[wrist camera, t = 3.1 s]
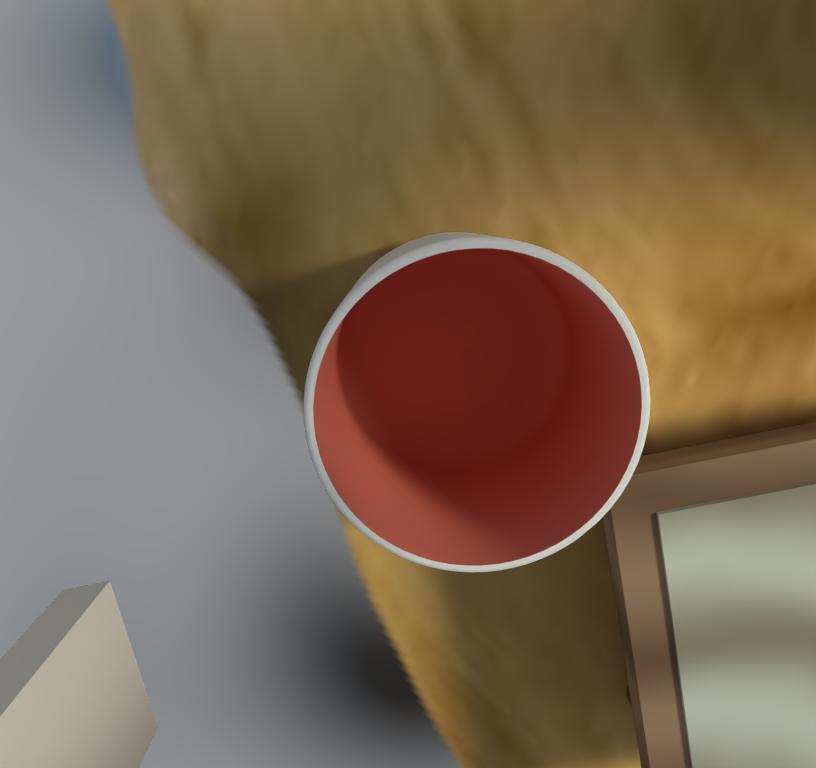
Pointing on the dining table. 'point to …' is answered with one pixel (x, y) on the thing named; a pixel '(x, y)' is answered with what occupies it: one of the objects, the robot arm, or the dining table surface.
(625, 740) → the dining table surface
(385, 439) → the cup
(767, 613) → the footstool
